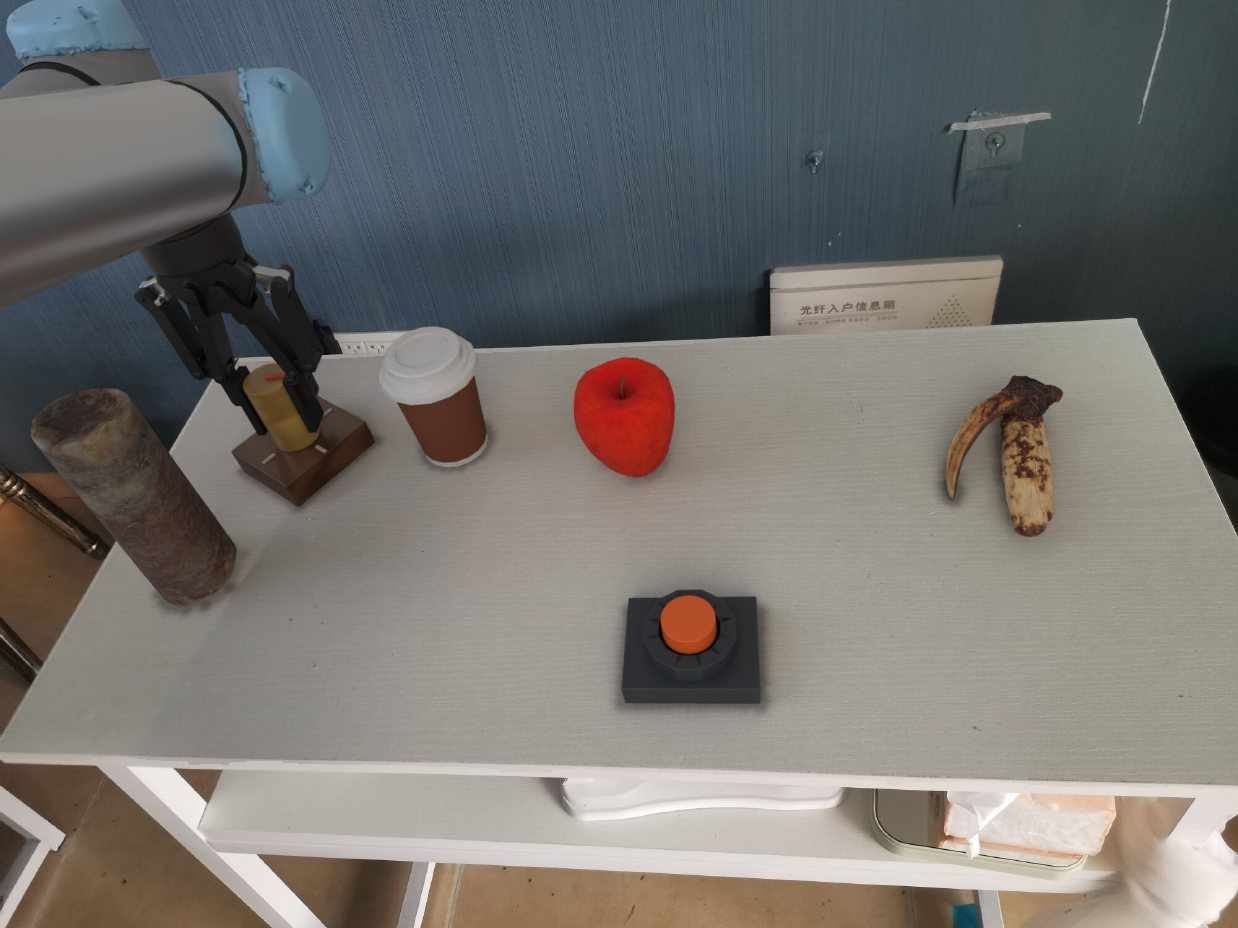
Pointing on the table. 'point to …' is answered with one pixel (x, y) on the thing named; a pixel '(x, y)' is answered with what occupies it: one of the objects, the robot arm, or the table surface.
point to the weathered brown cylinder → (136, 492)
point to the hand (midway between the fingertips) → (291, 423)
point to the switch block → (692, 655)
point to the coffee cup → (437, 393)
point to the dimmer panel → (306, 455)
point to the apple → (626, 415)
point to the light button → (688, 624)
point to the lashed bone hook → (1014, 450)
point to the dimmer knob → (277, 408)
